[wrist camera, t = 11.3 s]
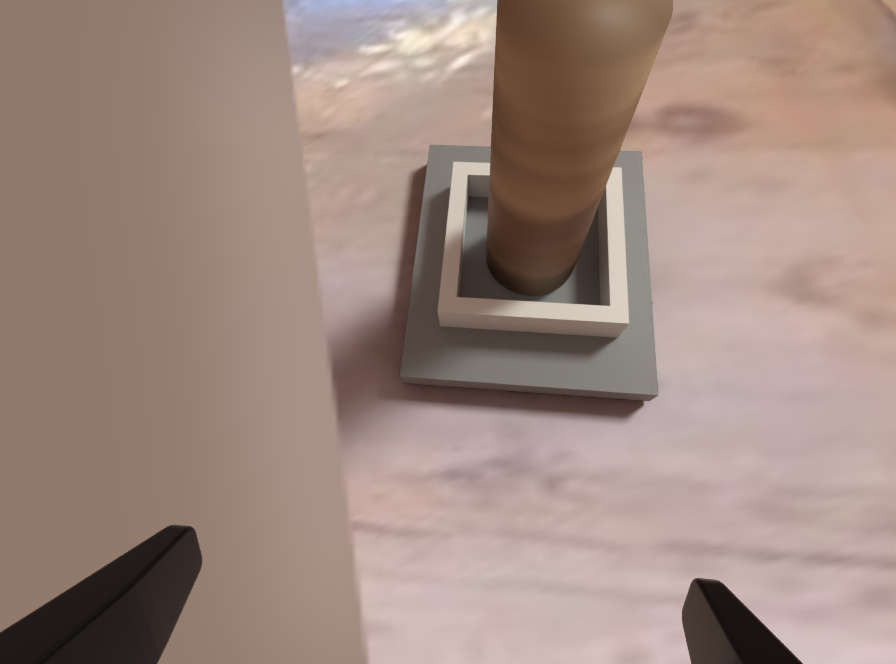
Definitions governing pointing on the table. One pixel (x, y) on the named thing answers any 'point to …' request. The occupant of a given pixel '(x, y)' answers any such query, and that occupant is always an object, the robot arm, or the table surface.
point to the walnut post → (560, 126)
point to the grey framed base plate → (529, 316)
